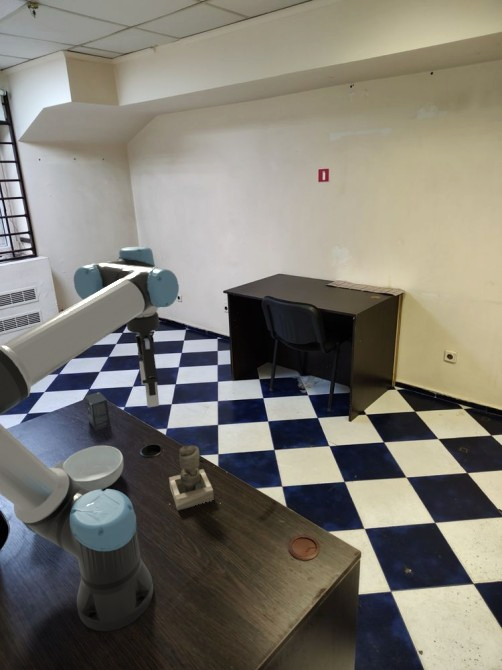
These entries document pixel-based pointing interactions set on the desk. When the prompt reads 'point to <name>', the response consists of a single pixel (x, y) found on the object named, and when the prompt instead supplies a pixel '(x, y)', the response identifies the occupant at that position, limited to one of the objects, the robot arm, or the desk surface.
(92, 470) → the cereal bowl
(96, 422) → the box
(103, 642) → the desk surface
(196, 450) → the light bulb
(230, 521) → the desk surface
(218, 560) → the desk surface
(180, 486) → the wooden square frame
